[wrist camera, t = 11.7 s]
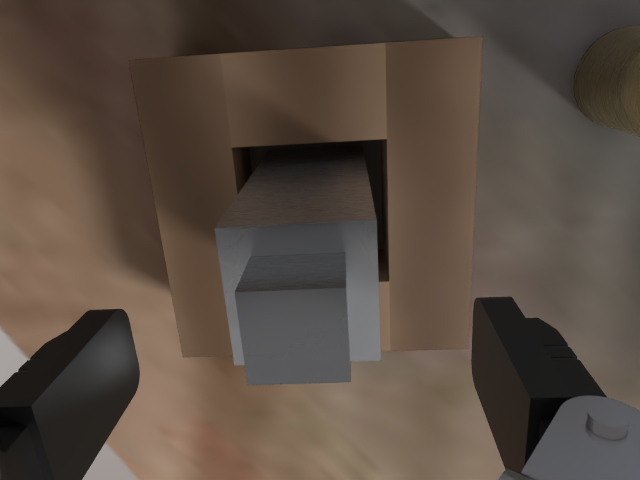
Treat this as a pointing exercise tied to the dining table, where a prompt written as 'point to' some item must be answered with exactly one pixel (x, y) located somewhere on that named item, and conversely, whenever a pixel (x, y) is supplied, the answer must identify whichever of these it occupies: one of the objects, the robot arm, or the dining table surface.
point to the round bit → (611, 80)
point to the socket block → (322, 131)
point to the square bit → (302, 267)
